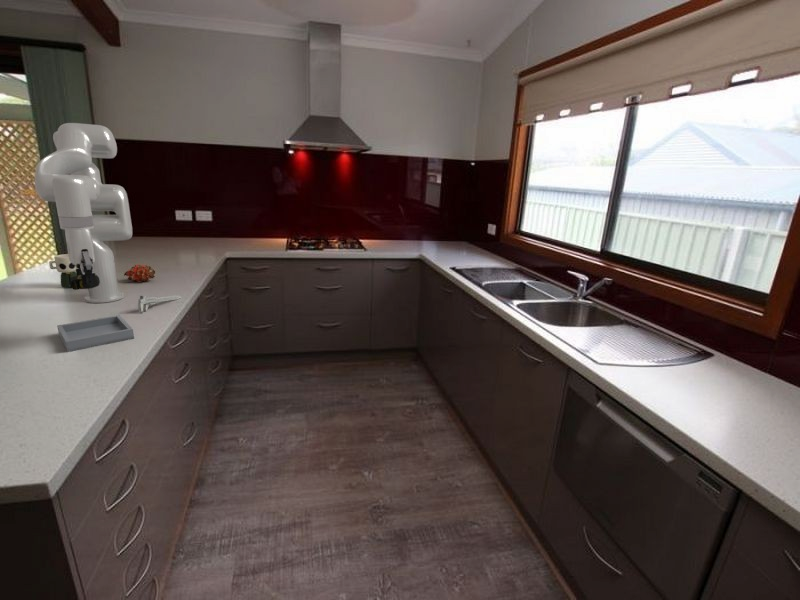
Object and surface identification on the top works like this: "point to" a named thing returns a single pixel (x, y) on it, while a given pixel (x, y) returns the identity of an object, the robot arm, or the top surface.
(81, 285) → the tape measure
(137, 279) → the dragon fruit
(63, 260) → the character mug
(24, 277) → the top surface
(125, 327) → the parts tray
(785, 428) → the top surface
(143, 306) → the caliper
